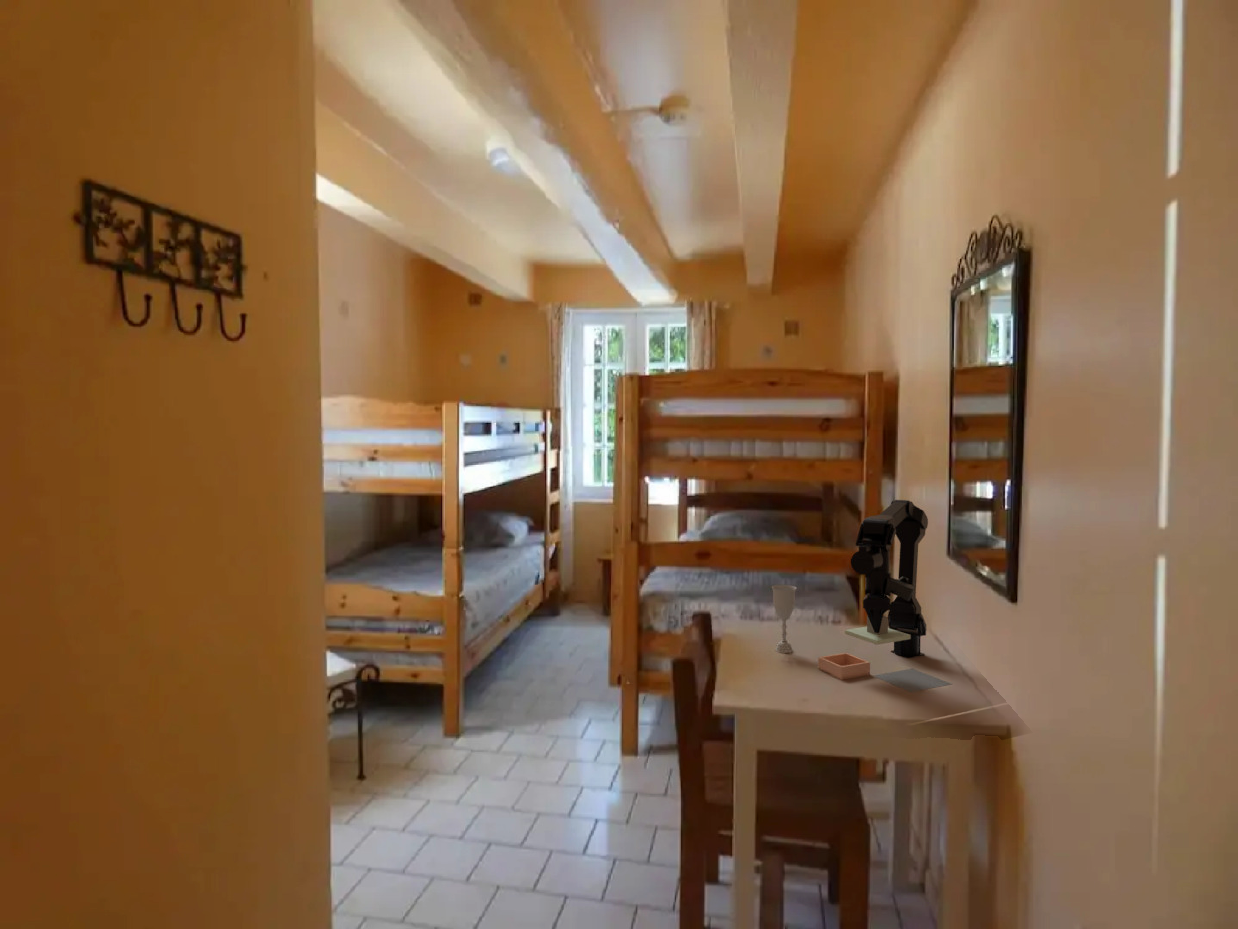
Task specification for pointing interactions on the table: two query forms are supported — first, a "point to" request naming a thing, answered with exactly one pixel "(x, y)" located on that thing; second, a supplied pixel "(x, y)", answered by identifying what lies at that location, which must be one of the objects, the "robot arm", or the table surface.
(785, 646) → the chalice
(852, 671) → the dish
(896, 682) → the mat
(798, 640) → the table surface
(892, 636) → the lid
